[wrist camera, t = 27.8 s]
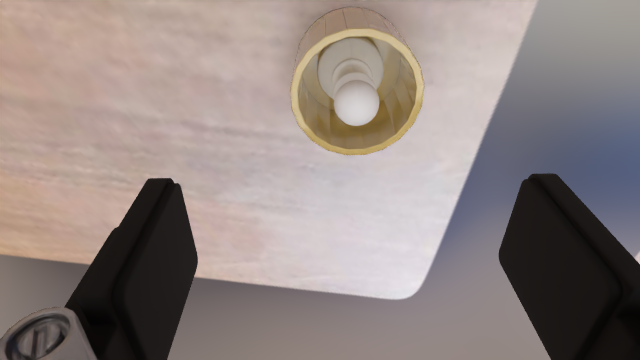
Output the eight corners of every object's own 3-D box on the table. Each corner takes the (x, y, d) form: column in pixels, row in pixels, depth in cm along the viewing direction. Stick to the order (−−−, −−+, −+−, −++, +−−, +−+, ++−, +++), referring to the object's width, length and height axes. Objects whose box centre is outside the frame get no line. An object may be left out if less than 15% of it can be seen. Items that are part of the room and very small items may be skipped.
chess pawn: (381, 94, 33) (399, 146, 25) (319, 98, 33) (319, 151, 25) (382, 30, 30) (402, 67, 22) (315, 35, 30) (312, 73, 23)
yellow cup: (276, 78, 33) (266, 113, 27) (338, -19, 29) (342, -3, 23) (360, 132, 35) (368, 175, 29) (427, 50, 31) (452, 80, 25)
